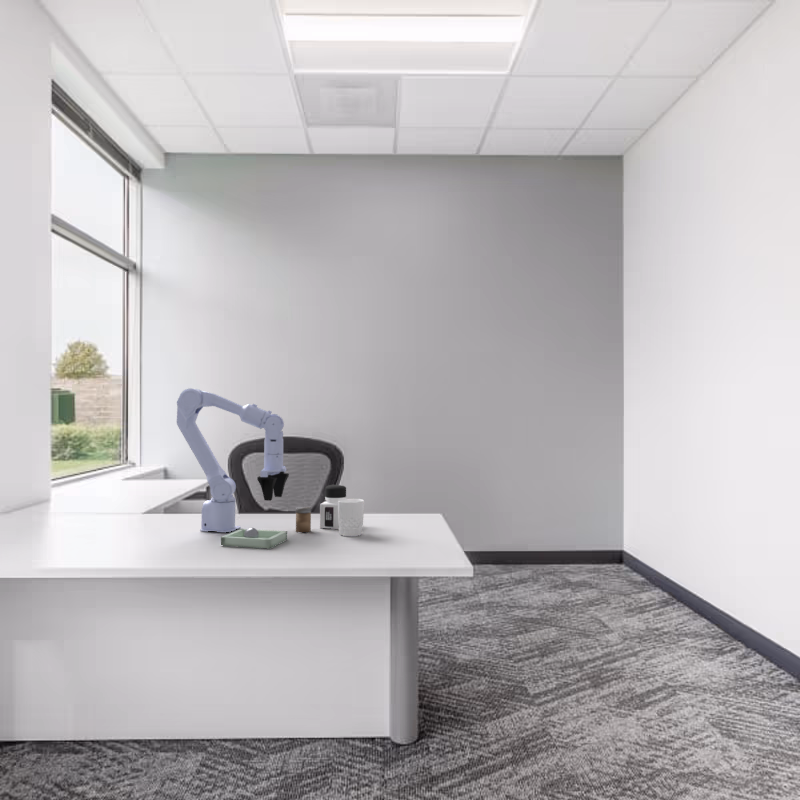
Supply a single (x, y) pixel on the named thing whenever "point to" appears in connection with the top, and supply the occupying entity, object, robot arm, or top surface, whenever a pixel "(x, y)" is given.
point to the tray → (254, 539)
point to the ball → (251, 533)
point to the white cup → (350, 516)
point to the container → (331, 506)
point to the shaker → (303, 519)
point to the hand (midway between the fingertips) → (273, 498)
